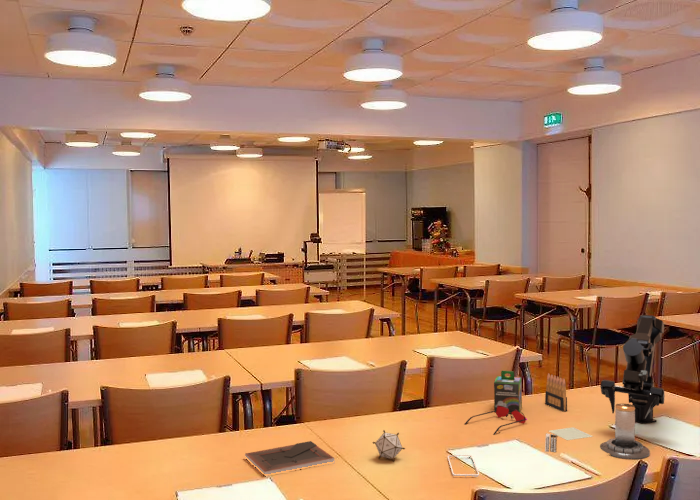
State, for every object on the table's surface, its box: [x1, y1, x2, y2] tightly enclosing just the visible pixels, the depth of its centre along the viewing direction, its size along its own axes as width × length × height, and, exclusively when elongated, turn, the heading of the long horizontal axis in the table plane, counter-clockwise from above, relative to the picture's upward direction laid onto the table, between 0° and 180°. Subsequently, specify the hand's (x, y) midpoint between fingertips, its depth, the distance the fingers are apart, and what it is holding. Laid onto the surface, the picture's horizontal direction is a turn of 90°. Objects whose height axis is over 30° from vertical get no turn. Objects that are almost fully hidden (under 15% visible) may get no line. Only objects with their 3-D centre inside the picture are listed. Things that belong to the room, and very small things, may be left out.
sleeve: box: [614, 403, 636, 448], centre depth 209 cm, size 6×6×13 cm
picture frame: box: [244, 440, 335, 474], centre depth 204 cm, size 16×2×22 cm
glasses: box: [463, 405, 528, 436], centre depth 236 cm, size 14×16×5 cm
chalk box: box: [493, 370, 523, 414], centre depth 253 cm, size 9×9×15 cm
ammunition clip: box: [544, 372, 568, 413], centre depth 256 cm, size 11×2×12 cm, turn 21°
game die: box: [372, 429, 406, 462], centre depth 205 cm, size 9×8×10 cm
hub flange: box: [599, 437, 651, 460], centre depth 210 cm, size 14×14×2 cm
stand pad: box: [548, 427, 594, 441], centre depth 225 cm, size 10×10×1 cm
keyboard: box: [544, 433, 559, 453], centre depth 216 cm, size 17×6×2 cm, turn 163°
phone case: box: [447, 454, 480, 477], centre depth 198 cm, size 7×1×15 cm
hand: (628, 415), depth 217 cm, fingers open, 9 cm apart
